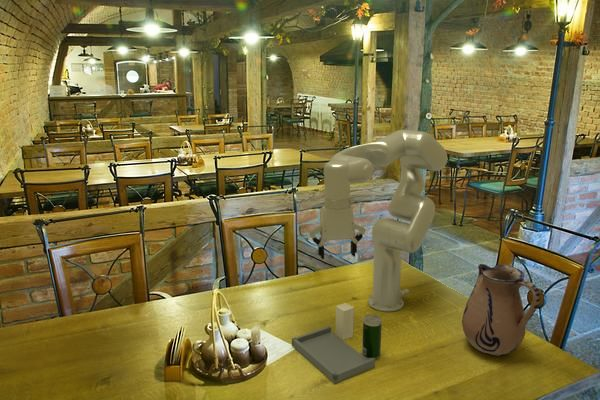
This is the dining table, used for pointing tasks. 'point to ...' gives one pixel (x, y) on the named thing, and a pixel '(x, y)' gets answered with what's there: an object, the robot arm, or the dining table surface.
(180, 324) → the dining table surface
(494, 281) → the ceramic pitcher
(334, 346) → the slate tray
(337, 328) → the block
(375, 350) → the beer can
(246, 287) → the dining table surface
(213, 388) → the dining table surface
